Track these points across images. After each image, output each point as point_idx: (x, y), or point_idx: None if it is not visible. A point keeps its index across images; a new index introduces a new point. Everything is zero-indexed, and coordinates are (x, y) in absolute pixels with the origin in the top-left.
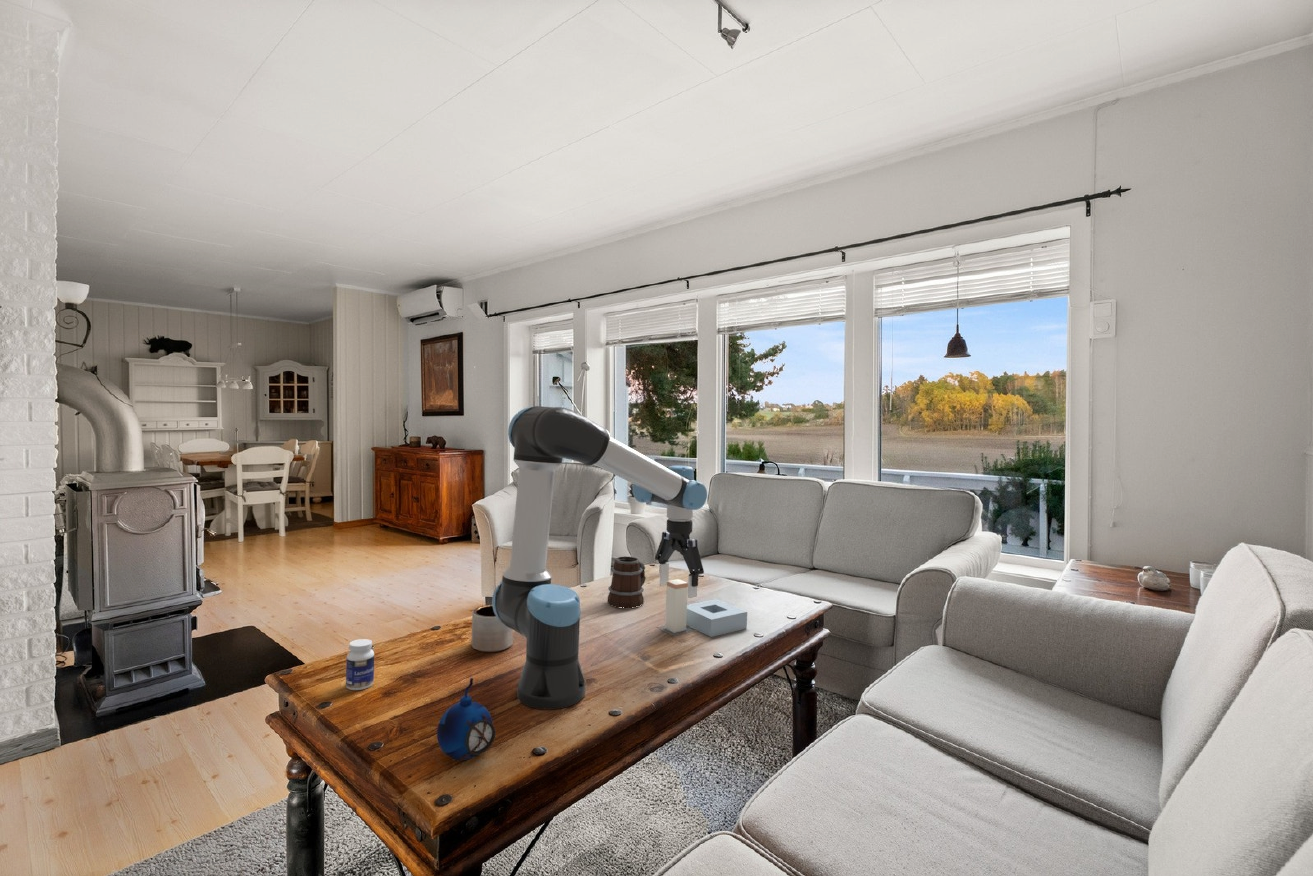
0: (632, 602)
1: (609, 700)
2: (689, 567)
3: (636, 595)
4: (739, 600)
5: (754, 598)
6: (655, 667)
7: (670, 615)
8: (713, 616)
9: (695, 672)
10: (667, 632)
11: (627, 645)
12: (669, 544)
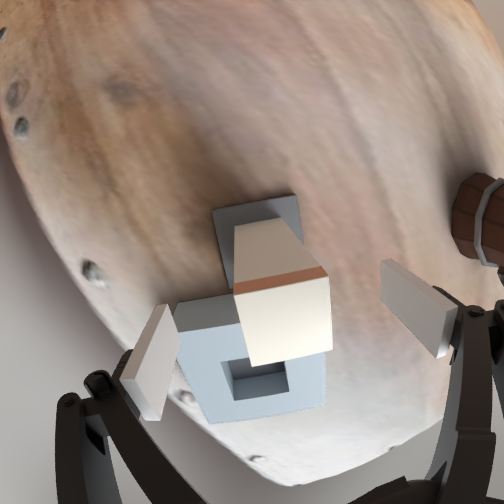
0: (462, 217)
1: (22, 24)
2: (115, 421)
3: (474, 235)
4: (369, 426)
5: (361, 443)
6: (71, 105)
7: (259, 234)
8: (191, 351)
9: (33, 184)
10: (244, 208)
11: (214, 71)
12: (464, 493)
